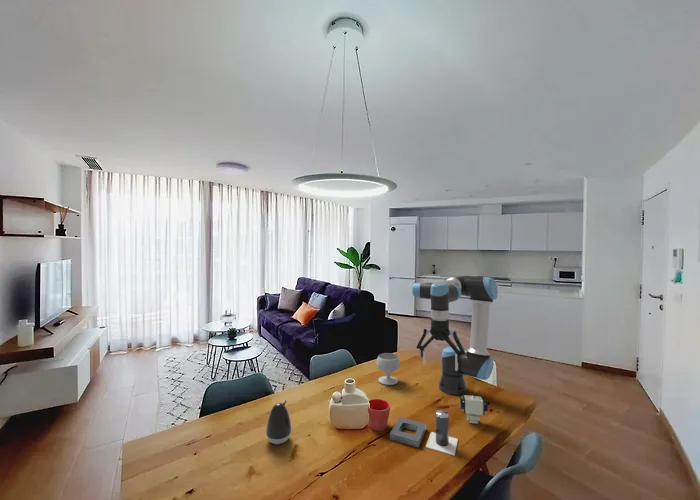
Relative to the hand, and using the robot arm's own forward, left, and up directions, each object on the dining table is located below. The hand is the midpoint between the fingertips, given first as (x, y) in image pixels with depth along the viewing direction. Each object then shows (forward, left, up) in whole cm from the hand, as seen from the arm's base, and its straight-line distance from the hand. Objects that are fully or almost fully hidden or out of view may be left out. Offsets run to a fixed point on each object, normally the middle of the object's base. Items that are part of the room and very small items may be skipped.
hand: (440, 367), depth 134 cm
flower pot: (+9, -26, -28) cm, 39 cm away
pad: (+9, +2, -28) cm, 29 cm away
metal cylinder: (+9, +2, -27) cm, 29 cm away
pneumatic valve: (-14, +12, -28) cm, 34 cm away
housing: (+9, -12, -28) cm, 31 cm away
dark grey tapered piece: (+37, -59, -28) cm, 75 cm away
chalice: (-37, -37, -28) cm, 59 cm away
